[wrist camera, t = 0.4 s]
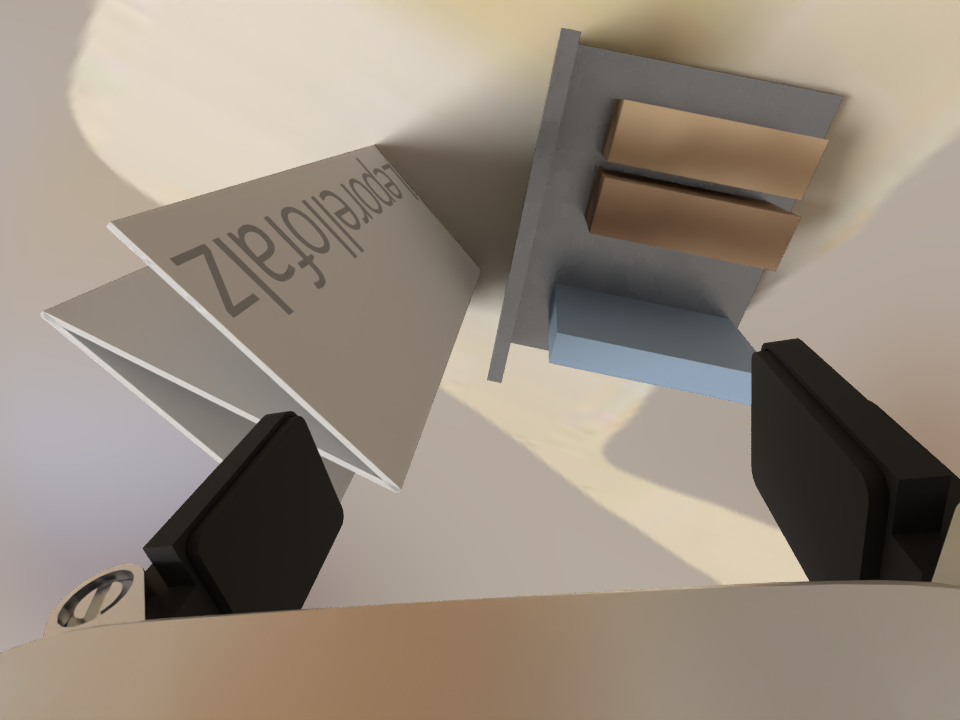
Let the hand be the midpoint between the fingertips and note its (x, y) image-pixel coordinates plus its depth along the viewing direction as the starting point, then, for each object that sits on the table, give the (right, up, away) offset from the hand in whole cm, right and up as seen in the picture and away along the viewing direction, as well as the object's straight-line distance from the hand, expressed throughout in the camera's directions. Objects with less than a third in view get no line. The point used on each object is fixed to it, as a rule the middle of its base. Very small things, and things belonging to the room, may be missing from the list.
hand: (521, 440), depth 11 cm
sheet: (+14, +6, +36) cm, 39 cm away
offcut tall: (+15, +14, +32) cm, 38 cm away
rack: (+14, +13, +34) cm, 39 cm away
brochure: (-7, +14, +36) cm, 39 cm away
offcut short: (+16, +18, +29) cm, 38 cm away
